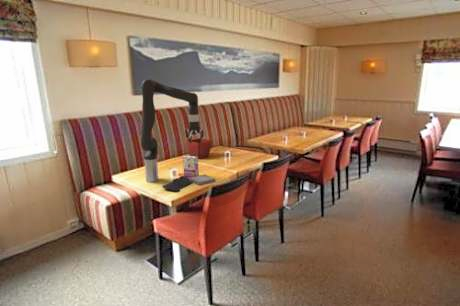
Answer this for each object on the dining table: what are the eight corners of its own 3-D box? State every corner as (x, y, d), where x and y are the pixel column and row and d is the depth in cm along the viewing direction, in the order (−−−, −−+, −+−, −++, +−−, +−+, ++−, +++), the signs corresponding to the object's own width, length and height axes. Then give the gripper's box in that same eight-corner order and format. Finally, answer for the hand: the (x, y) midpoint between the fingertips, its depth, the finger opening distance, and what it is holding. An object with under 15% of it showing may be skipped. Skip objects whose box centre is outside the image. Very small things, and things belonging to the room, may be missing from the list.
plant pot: (199, 154, 306) (198, 138, 302) (213, 156, 294) (212, 140, 290) (185, 157, 291) (184, 141, 287) (199, 160, 279) (198, 143, 276)
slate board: (189, 180, 222) (189, 177, 222) (205, 176, 230) (205, 174, 230) (198, 185, 211) (198, 182, 211) (214, 181, 219) (214, 178, 219)
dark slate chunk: (158, 189, 206) (158, 182, 205) (178, 180, 225) (177, 174, 224) (176, 192, 199) (176, 186, 198) (194, 182, 218) (194, 176, 217)
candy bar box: (199, 176, 231) (198, 156, 227) (195, 178, 226) (194, 158, 223) (187, 175, 236) (186, 155, 232) (183, 176, 232) (182, 156, 228)
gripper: (204, 120, 218) (205, 142, 222) (186, 120, 221) (187, 142, 224) (202, 121, 211) (203, 144, 215) (182, 121, 213) (184, 144, 217)
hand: (195, 143), depth 219 cm, fingers open, 6 cm apart
